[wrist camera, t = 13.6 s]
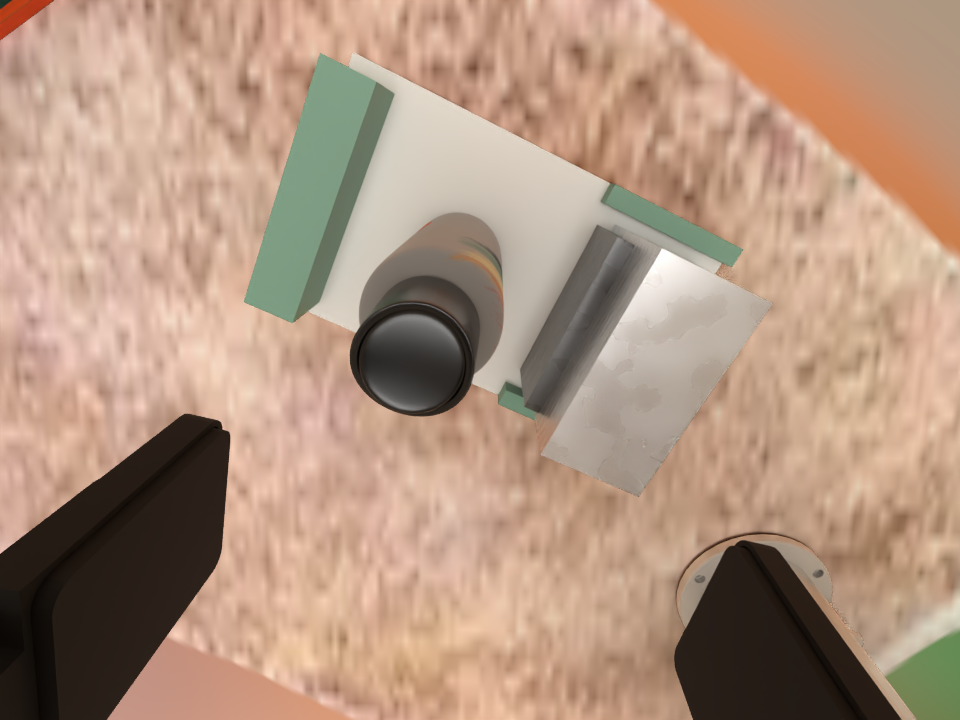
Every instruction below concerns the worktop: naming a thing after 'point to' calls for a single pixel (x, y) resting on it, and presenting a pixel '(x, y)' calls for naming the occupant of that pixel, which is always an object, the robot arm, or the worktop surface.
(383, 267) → the lotion bottle
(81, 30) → the worktop surface
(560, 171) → the frame
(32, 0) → the power tool
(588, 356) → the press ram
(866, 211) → the worktop surface
